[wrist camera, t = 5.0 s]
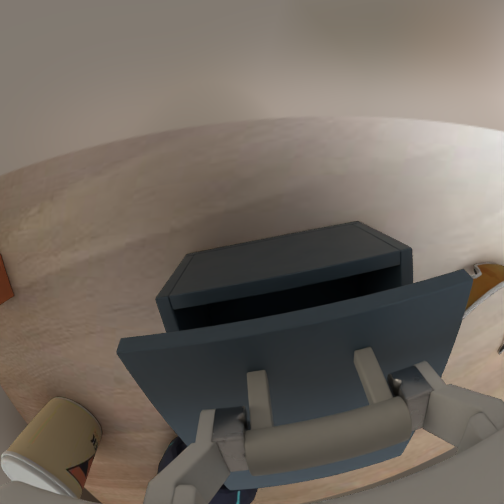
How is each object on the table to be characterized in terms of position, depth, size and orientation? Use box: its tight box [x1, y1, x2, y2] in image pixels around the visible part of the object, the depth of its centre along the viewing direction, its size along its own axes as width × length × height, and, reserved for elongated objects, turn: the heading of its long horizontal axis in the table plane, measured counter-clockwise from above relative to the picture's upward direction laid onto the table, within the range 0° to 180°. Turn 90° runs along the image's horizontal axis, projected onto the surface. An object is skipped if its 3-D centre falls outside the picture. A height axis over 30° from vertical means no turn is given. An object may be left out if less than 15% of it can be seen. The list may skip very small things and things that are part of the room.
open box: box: [155, 221, 413, 333], centre depth 21 cm, size 17×14×9 cm
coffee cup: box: [1, 397, 102, 499], centre depth 23 cm, size 9×9×12 cm
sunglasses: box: [462, 263, 504, 355], centre depth 25 cm, size 14×15×5 cm
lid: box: [117, 269, 473, 490], centre depth 13 cm, size 17×14×5 cm
